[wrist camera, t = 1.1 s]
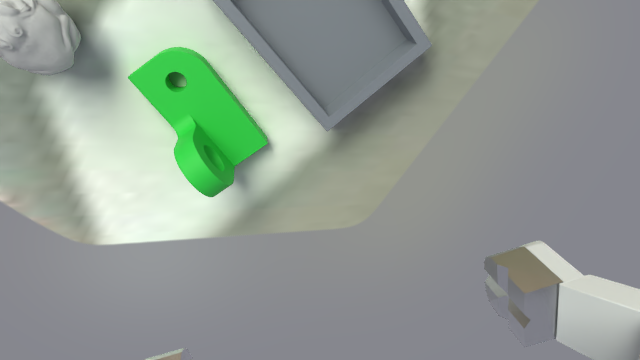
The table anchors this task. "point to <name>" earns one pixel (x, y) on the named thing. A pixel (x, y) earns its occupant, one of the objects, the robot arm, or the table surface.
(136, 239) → the table surface
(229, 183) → the mechanical part
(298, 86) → the tray
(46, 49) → the white sculpted head
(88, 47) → the table surface
